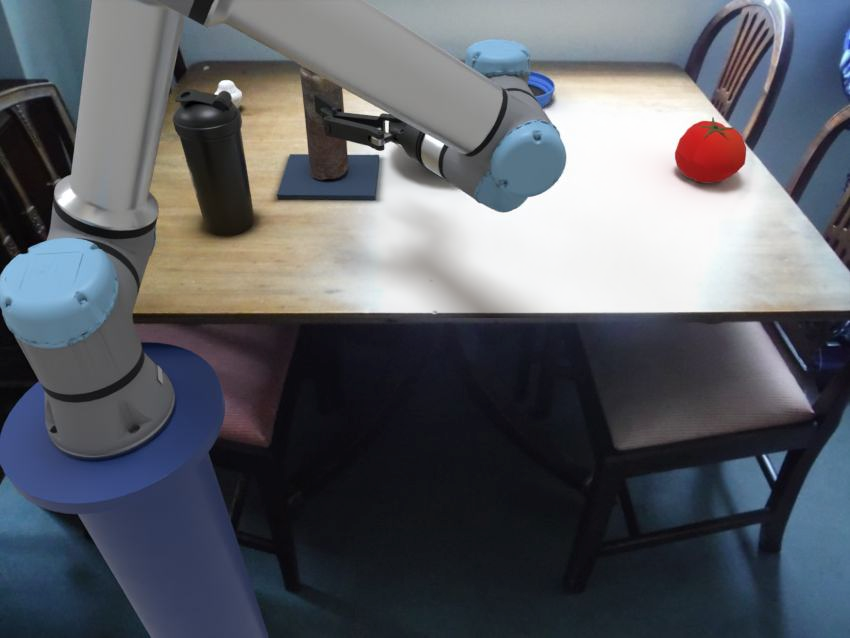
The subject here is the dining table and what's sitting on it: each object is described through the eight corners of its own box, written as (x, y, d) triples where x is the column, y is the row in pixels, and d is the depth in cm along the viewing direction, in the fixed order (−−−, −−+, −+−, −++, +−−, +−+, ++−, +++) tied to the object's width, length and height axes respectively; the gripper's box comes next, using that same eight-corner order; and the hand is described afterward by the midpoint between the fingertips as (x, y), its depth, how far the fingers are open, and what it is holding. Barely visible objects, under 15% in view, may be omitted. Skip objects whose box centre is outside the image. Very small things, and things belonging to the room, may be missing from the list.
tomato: (662, 159, 135) (675, 110, 128) (722, 160, 135) (739, 110, 128) (681, 193, 125) (696, 141, 118) (746, 193, 125) (765, 141, 118)
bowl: (530, 79, 167) (531, 64, 165) (566, 106, 155) (569, 91, 152) (465, 88, 162) (466, 74, 160) (497, 117, 150) (499, 102, 147)
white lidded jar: (216, 106, 152) (210, 76, 148) (243, 103, 154) (238, 73, 149) (218, 117, 148) (211, 86, 143) (245, 114, 149) (240, 84, 145)
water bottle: (209, 206, 119) (179, 80, 104) (265, 208, 119) (243, 82, 104) (192, 238, 112) (157, 107, 97) (252, 240, 112) (226, 109, 96)
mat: (277, 199, 122) (276, 194, 121) (290, 158, 134) (289, 154, 133) (375, 200, 122) (375, 195, 121) (379, 159, 134) (379, 154, 133)
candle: (320, 161, 131) (310, 58, 118) (355, 166, 129) (348, 63, 116) (304, 179, 125) (291, 73, 112) (339, 185, 124) (330, 79, 111)
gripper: (364, 194, 87) (286, 136, 99) (504, 144, 98) (418, 98, 111) (362, 141, 82) (280, 87, 94) (509, 95, 94) (419, 52, 106)
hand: (354, 92), depth 103 cm, fingers open, 13 cm apart
